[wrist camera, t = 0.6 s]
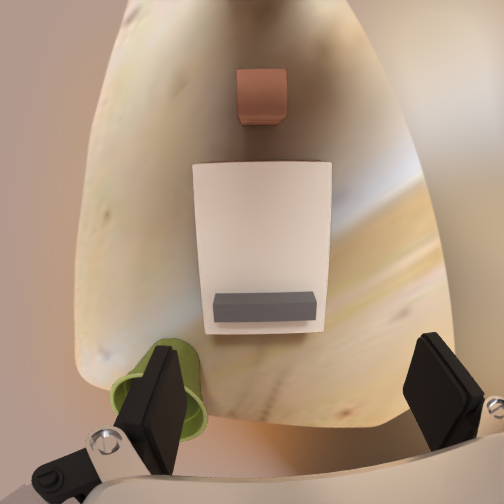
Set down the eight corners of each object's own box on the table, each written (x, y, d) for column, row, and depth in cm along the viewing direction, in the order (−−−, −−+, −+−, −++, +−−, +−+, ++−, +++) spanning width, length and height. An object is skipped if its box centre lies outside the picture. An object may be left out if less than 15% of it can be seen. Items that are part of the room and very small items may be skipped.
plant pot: (208, 395, 45) (199, 451, 34) (134, 374, 44) (110, 425, 33) (225, 334, 41) (217, 391, 31) (140, 311, 41) (109, 360, 30)
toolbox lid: (194, 164, 30) (186, 165, 26) (329, 162, 29) (338, 163, 26) (206, 329, 35) (202, 346, 32) (321, 327, 35) (327, 344, 32)
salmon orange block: (241, 91, 32) (236, 69, 23) (277, 90, 32) (286, 68, 23) (242, 125, 33) (237, 115, 24) (278, 124, 33) (287, 114, 24)
